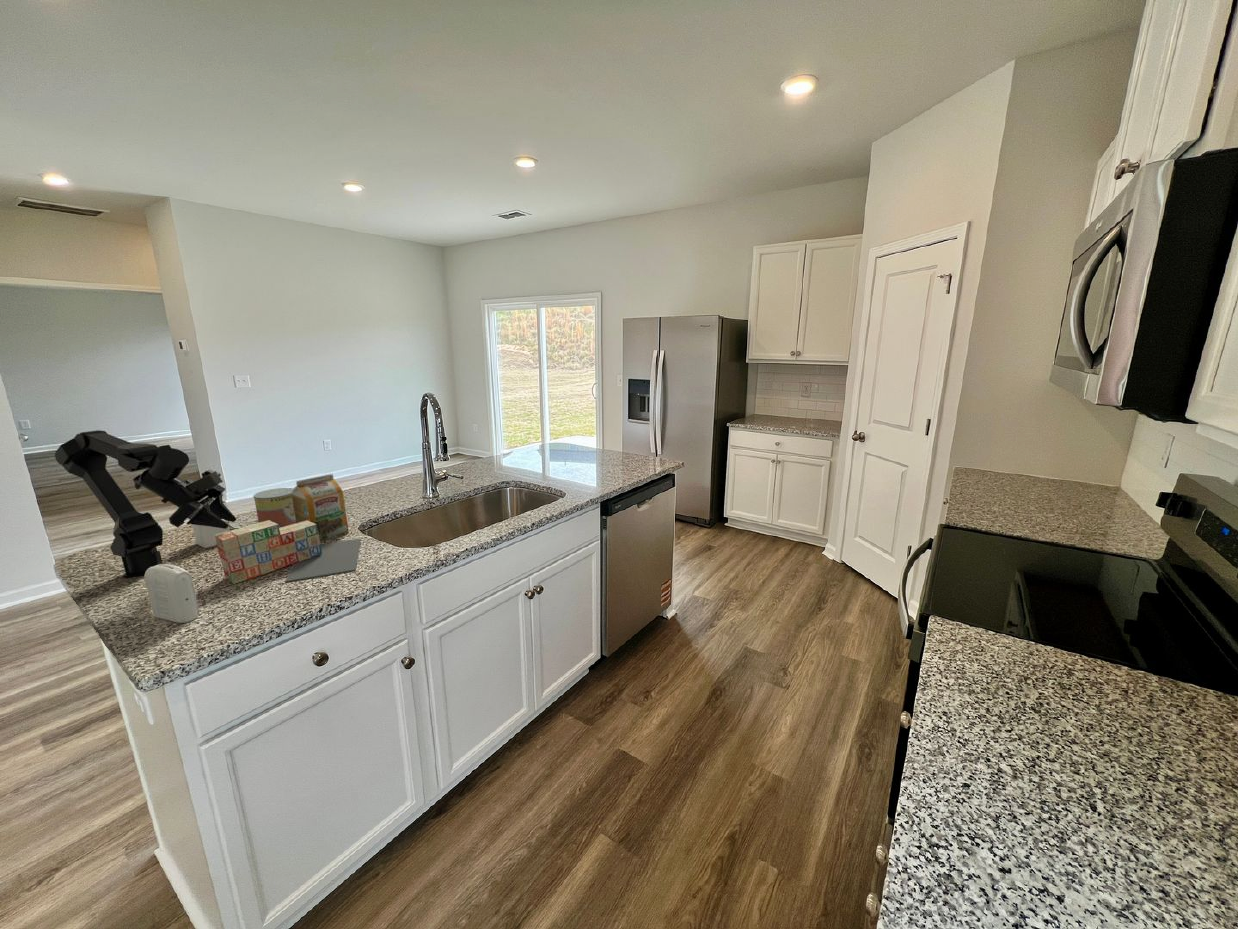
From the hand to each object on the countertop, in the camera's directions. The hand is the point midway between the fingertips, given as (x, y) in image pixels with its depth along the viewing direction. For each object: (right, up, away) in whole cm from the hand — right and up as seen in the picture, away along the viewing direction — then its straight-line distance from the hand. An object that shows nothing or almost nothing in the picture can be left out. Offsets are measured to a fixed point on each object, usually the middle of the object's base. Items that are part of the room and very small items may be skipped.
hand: (231, 523), depth 128 cm
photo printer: (+3, -19, -19) cm, 27 cm away
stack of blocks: (+8, -12, +6) cm, 16 cm away
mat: (+19, -11, +11) cm, 24 cm away
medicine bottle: (-23, -9, +23) cm, 34 cm away
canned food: (-12, -6, +36) cm, 38 cm away
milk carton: (+7, -7, +29) cm, 31 cm away
